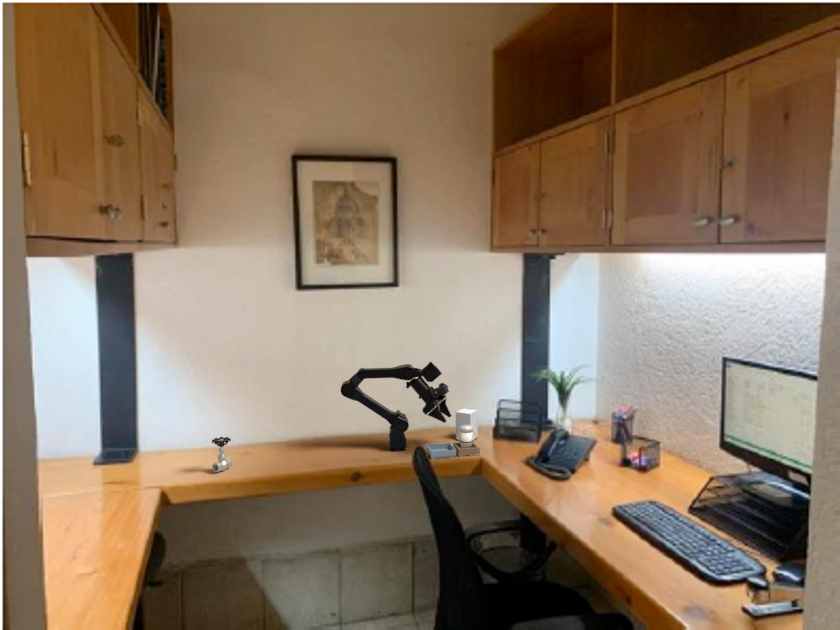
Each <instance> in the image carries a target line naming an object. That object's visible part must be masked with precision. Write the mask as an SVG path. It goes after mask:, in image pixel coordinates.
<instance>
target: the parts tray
mask: <svg viewBox="0 0 840 630" xmlns="http://www.w3.org/2000/svg"><path fill="white" fill-rule="evenodd" d="M426 450H427V452H428V453H427V452H426V453H427V455H428V454H429V455H428V456H429V458H430V459H431V460H435V459H436V458H441V459H451V458H450V457H455V458H457V454H456V449H455V448H454V447H453V444H451V442H442V443H441V442H440V443H426V444H425V451H426ZM436 460H437V459H436Z"/></svg>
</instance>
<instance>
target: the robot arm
mask: <svg viewBox="0 0 840 630" xmlns="http://www.w3.org/2000/svg"><path fill="white" fill-rule="evenodd" d="M441 375H443V373H442V371H441V369H439V368H438V367H437V365H435V364H434V363H433V362H432V361H429V362H428V364H427V365H426V366H424V367H423V368H417V367H414V366H413V365H412V364H409V363H406V364H401V365H397V366H394V367H393V366H392V367H372V368H371V367H370V368H369V367H367V368H364V367H360V368H359V369H358V371H356V372H355V373H354V374H353V375H352V376H351V377H350V378H349V379H347V380H345V381H343V382H342V384H341V386H340V394H341V395H342V396H343V397H345V398H346V399H350V400H352V401H354V402H355V401H356V402H359V403H360V404H362V405H363V406H364V407H366V408H367V409H369V410H371V411H372V412H374V413H375V414H376V415H378V416H380V417H381V418H383V419H385V420H386V422H388V423H389V425H390V426H389V433H388V445H387V448H388V449H389V452H398V451H406V450H407V449H406V448H407V437H406V435H405V432H407V431H408V430H409V428H410V427H409V426H410V424H409V419H408V418H407V416H406V413H403V412H401V411H400V410H399V409H397V410H396V411H393V410H391V409H389V408H387V407H386V406H384V405H383V404H382V403H380V402H378V401H376V400H375V399H374V398H372V397H371V396H370V395H367V394H366V393H364V391H363V390H362V389H361V388H360V387H359V386H360V384H362V382H363V381H364V380H365V379H368V380H369V379H397V380H403V381H406V386H405V388H406V389H409V388H410V387H411V388H412V390H414V392H415V393H416V394H417V396H418V399H419V400H422V401H423V402H424V403H425V404H424V406H423V407H422V412H423V414H424V415H425V416H426V415H427V416H429V417H431V418H433V419H435V420H437V421H440V422H442V423H444V424H445V423H446V422H447V420H446V418H445V416H446V417H448V418H451V417H452V414H451V412H450V410H449V407H448V406H447V397H448V396H447V394H448V393H449V392H450V390H449V385H447V384H446V383H444V382H441V383H439V384H438V386H437V387H436V388H434V386H429V384H428V383H433V382H434V381H436V379H438V378H439V377H440V376H441Z"/></svg>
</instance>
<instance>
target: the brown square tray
mask: <svg viewBox="0 0 840 630" xmlns="http://www.w3.org/2000/svg"><path fill="white" fill-rule="evenodd" d="M452 446H453V447H454V448H455V449H456V453H457V454H456V456H458V457H459V456H461V457H467V456H466V455H475V456H477V455H476V454H481V453H480V451H481V450H480V449H481V448H480V447H479V446H478V444H476V443H475V442H474V441H472V448H461V449H460V442H453V443H452Z"/></svg>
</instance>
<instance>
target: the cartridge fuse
mask: <svg viewBox="0 0 840 630" xmlns="http://www.w3.org/2000/svg"><path fill="white" fill-rule="evenodd" d="M472 432H473V426H472V425H468V424H463V425H460V440H459V443H460V449H461V448H472V442H473V441H472Z"/></svg>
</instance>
